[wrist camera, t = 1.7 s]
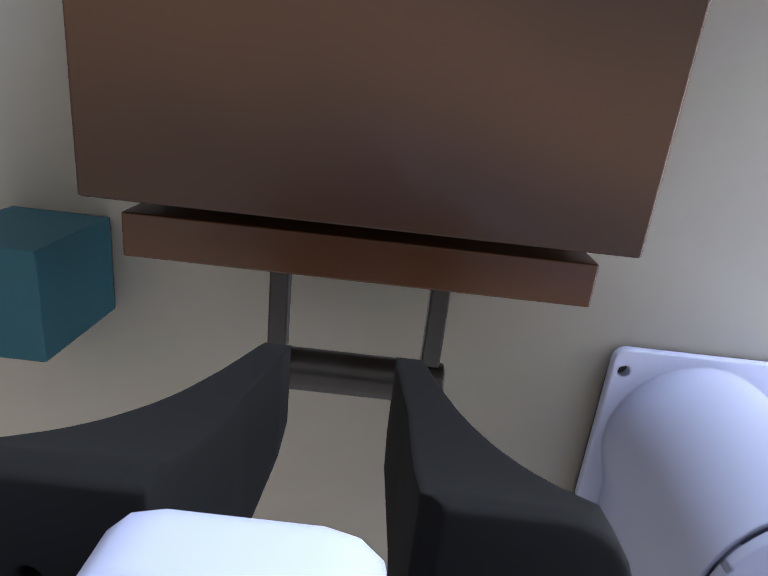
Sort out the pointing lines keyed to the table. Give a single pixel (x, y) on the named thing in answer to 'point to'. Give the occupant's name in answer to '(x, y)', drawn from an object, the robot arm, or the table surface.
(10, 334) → the box
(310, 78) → the cabinet
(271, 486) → the table surface
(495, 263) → the drawer
